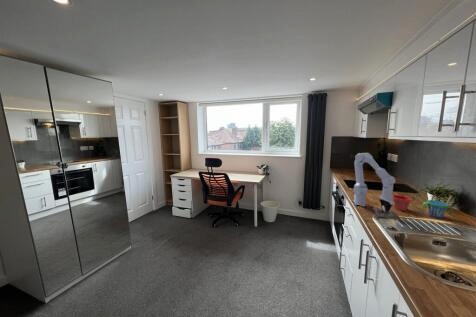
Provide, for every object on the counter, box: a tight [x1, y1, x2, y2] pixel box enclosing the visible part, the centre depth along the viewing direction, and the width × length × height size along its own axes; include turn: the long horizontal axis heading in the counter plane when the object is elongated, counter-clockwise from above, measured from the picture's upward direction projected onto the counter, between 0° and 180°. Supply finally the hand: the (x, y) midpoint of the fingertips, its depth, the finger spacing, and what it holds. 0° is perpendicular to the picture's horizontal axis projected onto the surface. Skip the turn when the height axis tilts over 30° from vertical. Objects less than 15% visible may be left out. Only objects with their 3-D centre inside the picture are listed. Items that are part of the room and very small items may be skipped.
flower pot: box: [392, 194, 412, 212], centre depth 146 cm, size 11×11×10 cm
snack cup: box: [421, 199, 453, 219], centre depth 133 cm, size 16×10×10 cm
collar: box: [372, 207, 400, 220], centre depth 137 cm, size 12×12×4 cm
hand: (385, 210), depth 137 cm, fingers closed on column, 4 cm apart
